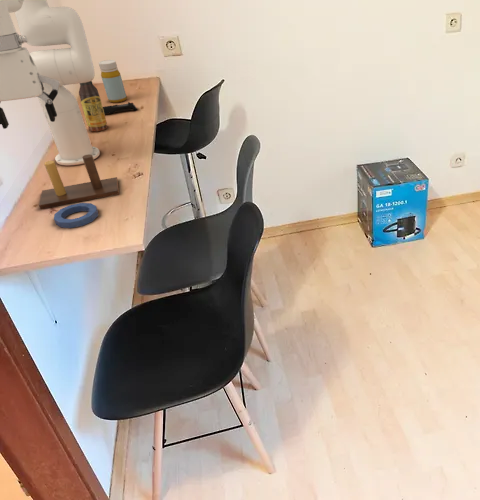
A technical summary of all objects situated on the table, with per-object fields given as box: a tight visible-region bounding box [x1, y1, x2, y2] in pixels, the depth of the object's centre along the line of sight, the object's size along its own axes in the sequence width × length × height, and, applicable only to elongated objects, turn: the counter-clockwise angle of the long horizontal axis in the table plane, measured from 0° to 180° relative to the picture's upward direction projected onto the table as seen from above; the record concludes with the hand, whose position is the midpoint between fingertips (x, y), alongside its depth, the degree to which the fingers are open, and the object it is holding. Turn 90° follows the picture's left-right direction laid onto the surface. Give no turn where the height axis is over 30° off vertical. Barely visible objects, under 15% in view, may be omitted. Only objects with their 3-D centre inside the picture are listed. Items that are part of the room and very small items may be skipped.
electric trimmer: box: [102, 101, 138, 115], centre depth 192 cm, size 4×16×3 cm, turn 114°
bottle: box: [98, 59, 128, 104], centre depth 201 cm, size 7×7×15 cm
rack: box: [38, 154, 120, 210], centre depth 134 cm, size 9×19×10 cm, turn 112°
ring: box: [53, 202, 99, 229], centre depth 126 cm, size 10×10×2 cm
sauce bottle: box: [78, 80, 108, 133], centre depth 173 cm, size 6×6×20 cm
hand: (30, 123), depth 116 cm, fingers open, 9 cm apart
